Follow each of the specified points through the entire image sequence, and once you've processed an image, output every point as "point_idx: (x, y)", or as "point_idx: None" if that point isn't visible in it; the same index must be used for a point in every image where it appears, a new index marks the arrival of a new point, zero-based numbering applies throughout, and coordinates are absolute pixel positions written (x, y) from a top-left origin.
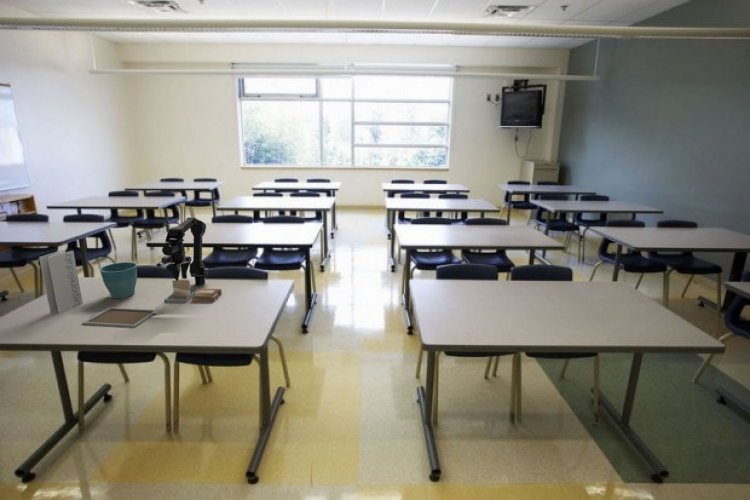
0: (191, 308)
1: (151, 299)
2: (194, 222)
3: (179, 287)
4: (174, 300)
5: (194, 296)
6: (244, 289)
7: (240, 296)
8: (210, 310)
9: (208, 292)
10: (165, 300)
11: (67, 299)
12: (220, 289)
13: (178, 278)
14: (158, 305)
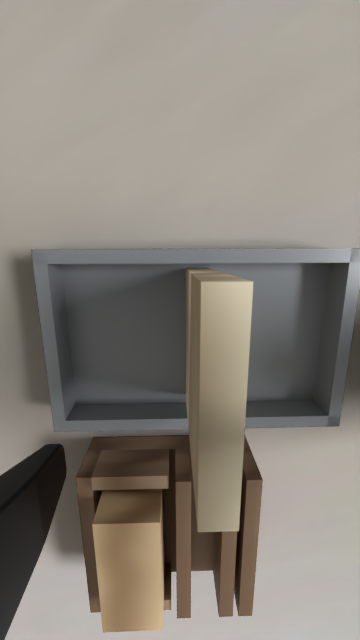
0: (19, 461)
1: (160, 55)
2: None
3: (190, 351)
4: (46, 340)
5: (98, 488)
6: (349, 620)
7: (234, 633)
8: None
9: (115, 608)
10: (37, 260)
11: None
12: (238, 615)
13: (36, 532)
14: (32, 203)
